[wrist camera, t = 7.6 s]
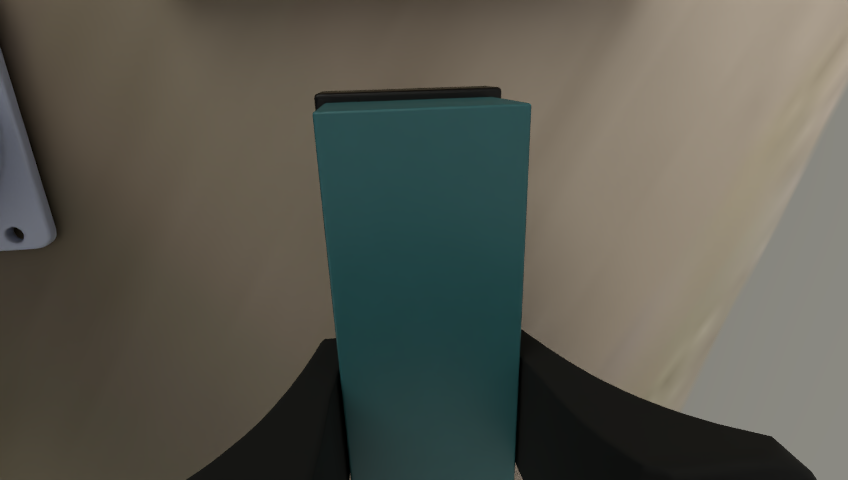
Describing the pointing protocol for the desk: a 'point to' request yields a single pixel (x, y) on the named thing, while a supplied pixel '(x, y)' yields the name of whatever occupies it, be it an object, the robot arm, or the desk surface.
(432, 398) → the teal long block
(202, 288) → the desk surface
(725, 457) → the robot arm
